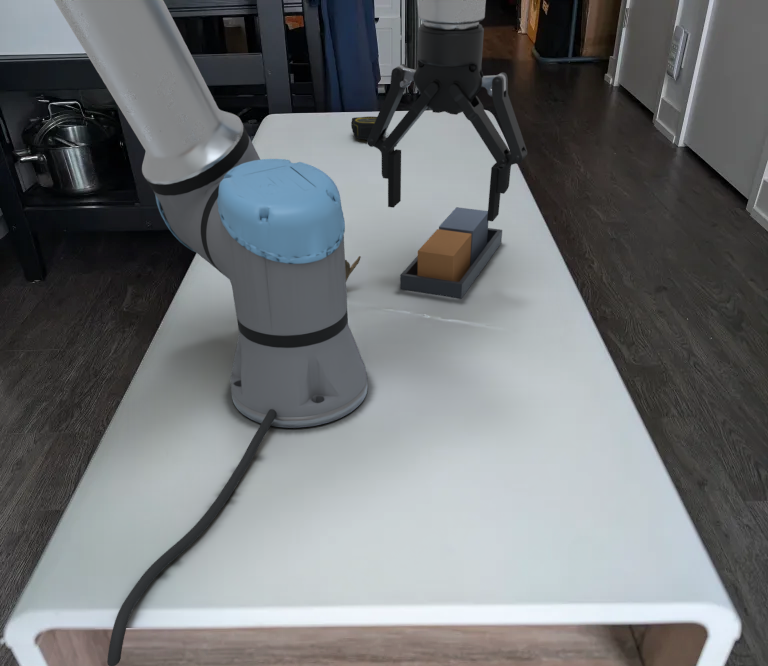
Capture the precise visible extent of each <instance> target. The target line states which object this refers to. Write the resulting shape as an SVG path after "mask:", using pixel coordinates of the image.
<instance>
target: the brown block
mask: <svg viewBox="0 0 768 666" xmlns="http://www.w3.org/2000/svg"><path fill="white" fill-rule="evenodd" d="M471 236H472V234H470V233H462V232H455V231H447V230H440V229H439V228H437V229H436V230H435V231H434V232H433V233H432V234H431V236H429V238H428V239H427V240H426V241H425V242H424V243H423V244H422V245H421V247H420V248H419V249H418V250H417V256H418V273H417V276H423V277H429V278H436V279H442V280H449V281H455V282H460V280H461V279H462V278H463V276H464V275H465V274H466V272H467V271H468V270H469V268H470V255H471Z"/></svg>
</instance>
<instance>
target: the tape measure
mask: <svg viewBox="0 0 768 666" xmlns="http://www.w3.org/2000/svg"><path fill="white" fill-rule="evenodd" d="M376 119H377V116H359V117H351V122H350V126H351V131H352V134H353V137H355V138H356V139H359V140H366V141H367V139H368V137H369V135H370V132H371V130H372V128H373V125H374V123H375V121H376ZM386 134H387V132H386V133H385V135H384V137H386Z"/></svg>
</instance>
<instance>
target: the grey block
mask: <svg viewBox="0 0 768 666" xmlns="http://www.w3.org/2000/svg"><path fill="white" fill-rule="evenodd" d="M487 216H488V210H484V209H474V208H466V207H457V206H456V207H455V208H454V209H453V210H452V212H451V213H450V214H449V215H448V216H447V217H446V218H445V219H444V220H443V222H442V223H440V225H439V226H438V229H440V230H447V231H455V232H462V233H470V234H472V236H471V255H470V265H472V264H473V262H474V261H475V260H476V258H477V257H478V256H479V254H480V253H481V252H482V250H483V249H484V248H485V246H486V245H487V235H488V228H489V221H487Z"/></svg>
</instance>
